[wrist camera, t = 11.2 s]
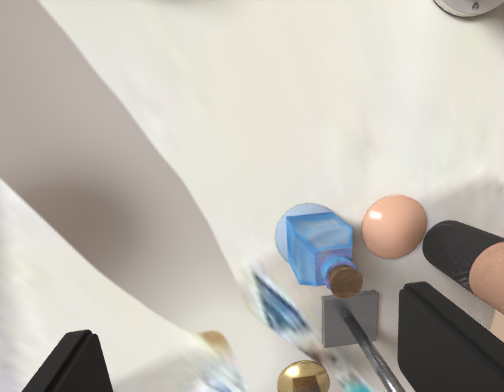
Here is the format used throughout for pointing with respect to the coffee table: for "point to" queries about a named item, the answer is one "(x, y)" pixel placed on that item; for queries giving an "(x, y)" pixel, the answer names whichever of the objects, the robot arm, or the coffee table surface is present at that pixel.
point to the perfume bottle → (323, 253)
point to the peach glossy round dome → (394, 226)
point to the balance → (341, 343)
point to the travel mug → (469, 259)
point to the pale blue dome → (281, 227)
